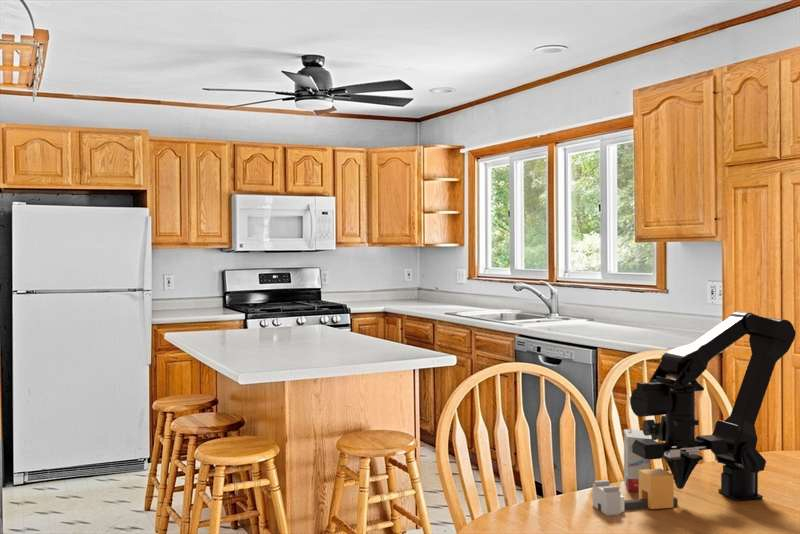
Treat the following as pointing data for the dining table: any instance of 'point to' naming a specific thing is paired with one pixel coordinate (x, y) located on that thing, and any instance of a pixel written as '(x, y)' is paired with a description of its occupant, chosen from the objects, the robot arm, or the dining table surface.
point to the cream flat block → (622, 503)
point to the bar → (639, 503)
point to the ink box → (633, 459)
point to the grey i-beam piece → (607, 497)
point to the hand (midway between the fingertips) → (679, 488)
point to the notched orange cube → (656, 488)
